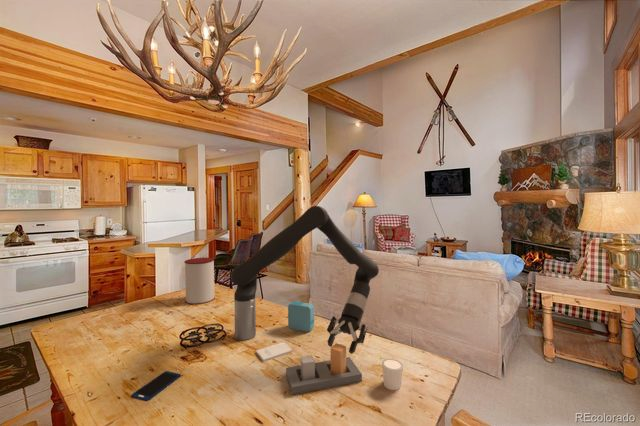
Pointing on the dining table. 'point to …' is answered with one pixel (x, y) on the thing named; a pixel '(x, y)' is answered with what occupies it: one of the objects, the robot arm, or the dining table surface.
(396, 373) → the shot glass
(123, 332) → the dining table surface
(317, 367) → the grey block holder
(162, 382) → the cell phone
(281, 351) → the external hard drive
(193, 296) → the container
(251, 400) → the dining table surface
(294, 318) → the data package
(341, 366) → the plug
